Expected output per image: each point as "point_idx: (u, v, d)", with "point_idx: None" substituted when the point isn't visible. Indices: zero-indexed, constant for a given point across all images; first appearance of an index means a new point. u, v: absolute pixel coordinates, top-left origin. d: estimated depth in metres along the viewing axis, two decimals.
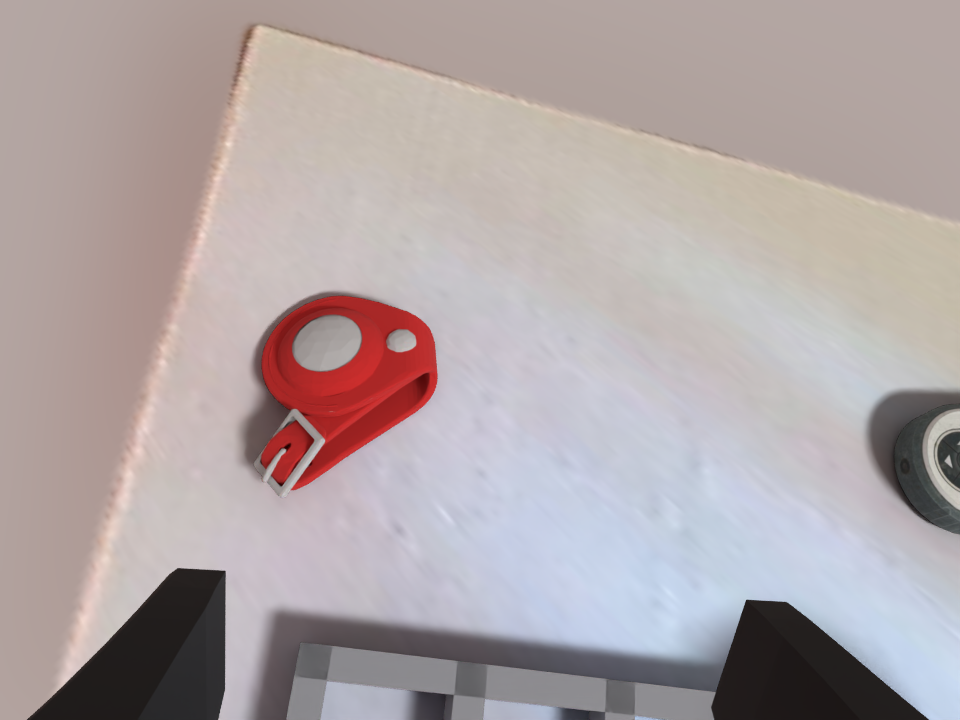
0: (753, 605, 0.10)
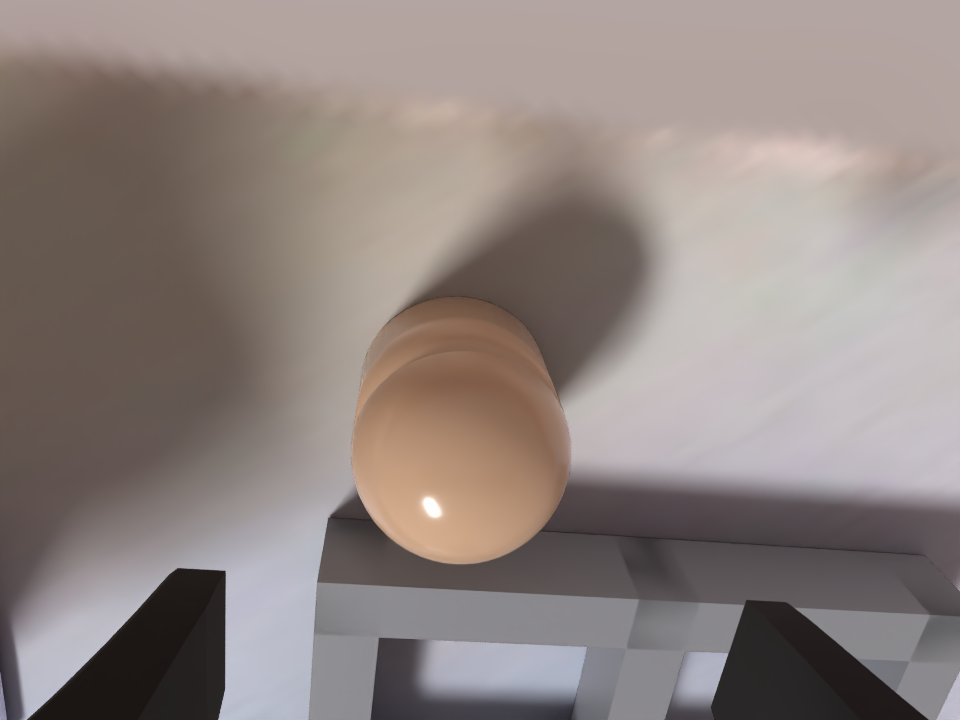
0: (752, 605, 0.10)
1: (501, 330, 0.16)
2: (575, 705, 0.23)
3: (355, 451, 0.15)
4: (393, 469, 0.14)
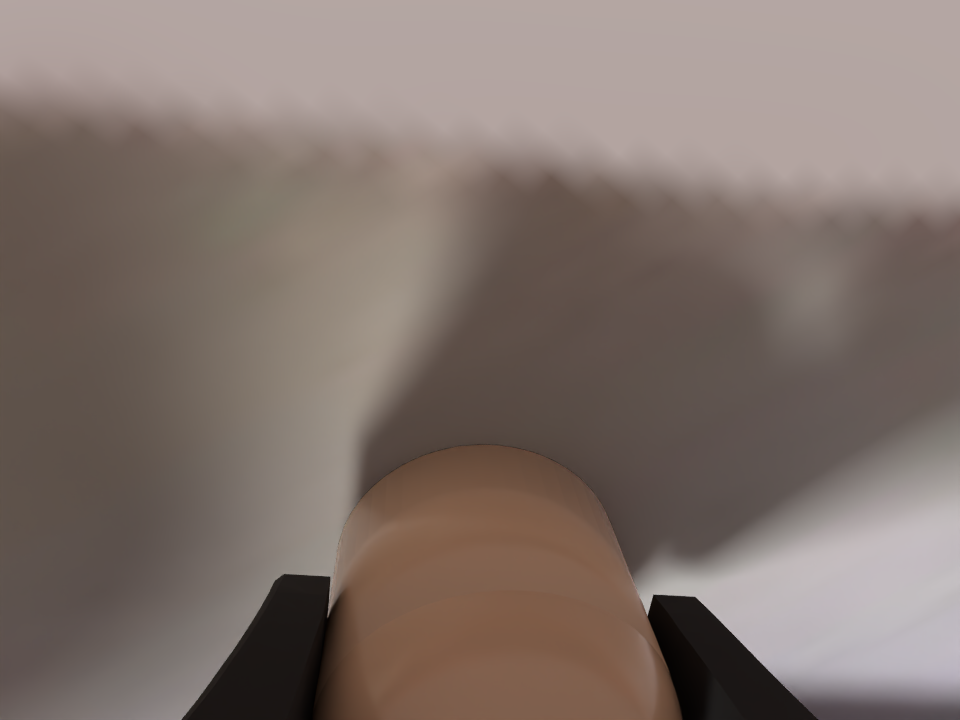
0: (658, 600, 0.10)
1: (560, 519, 0.10)
2: None
3: None
4: None
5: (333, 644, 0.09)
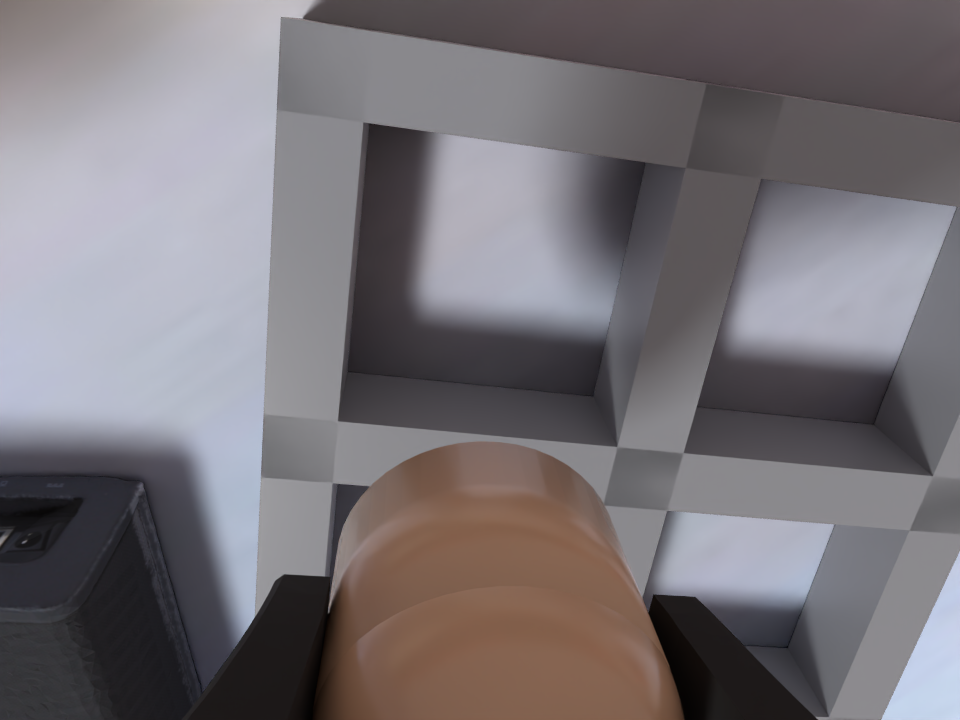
0: (658, 600, 0.10)
1: (560, 515, 0.10)
2: (607, 342, 0.18)
3: None
4: None
5: (333, 641, 0.09)
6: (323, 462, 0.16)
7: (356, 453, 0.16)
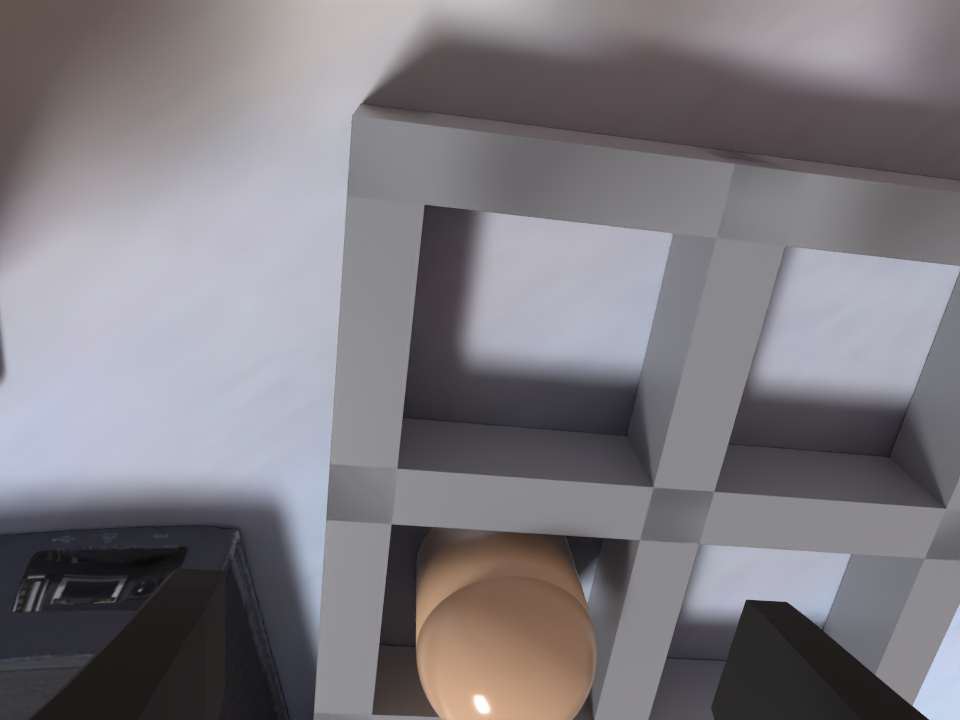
0: (752, 605, 0.10)
1: (537, 541, 0.20)
2: (639, 386, 0.20)
3: (422, 658, 0.18)
4: (455, 684, 0.17)
5: (426, 603, 0.19)
6: (383, 506, 0.18)
7: (413, 497, 0.18)
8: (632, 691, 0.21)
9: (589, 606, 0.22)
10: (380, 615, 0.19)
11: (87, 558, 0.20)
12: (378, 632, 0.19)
